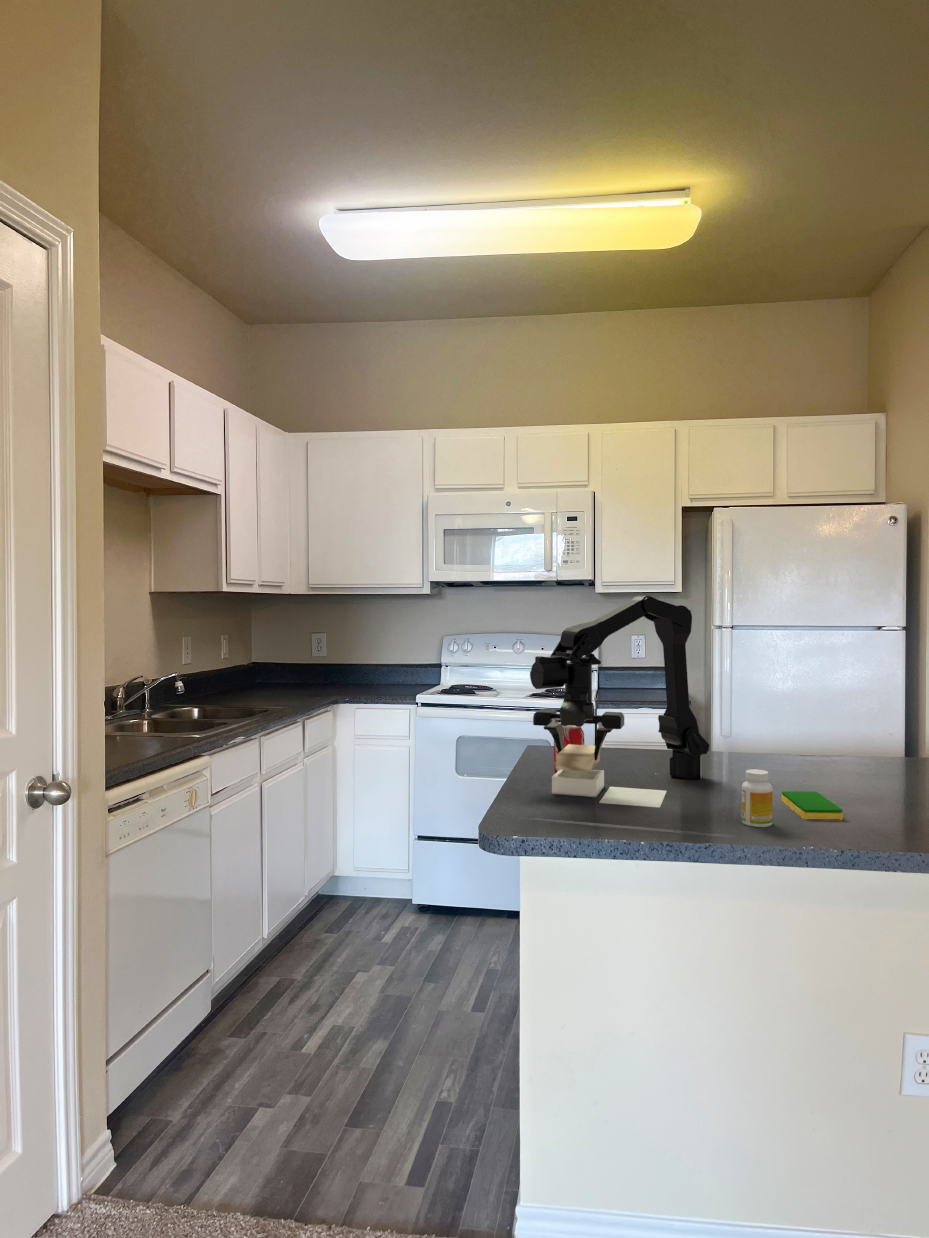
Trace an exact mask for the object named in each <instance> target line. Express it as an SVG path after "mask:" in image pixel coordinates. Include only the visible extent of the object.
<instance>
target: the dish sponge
mask: <svg viewBox="0 0 929 1238" xmlns="http://www.w3.org/2000/svg"><path fill="white" fill-rule="evenodd" d="M782 801H783V802H784V803H785V804H784V803H783V802H782ZM781 802H782V803H783V804H784V805H786V806H787V805H788V806H789V807H790V810H792V811H793V810H794V811H795V812H794V811H793V812H794V813H796V814H797V815H798V814H799V815H800V816H801V817H800V816H799V815H798V816H799V817H800V818H801V819H803V818H804V819H803V820H805V819H840V820H839V821H842V819H844V818H843V817H844V816H843V815H844V814H843V812H844V811H843V808H841V807H839V806H838V805H836V804H835V803H834V802H832V801H831V800H829V799H827V798H826V797H825V796H823V795H822V794H821V793H819V791H805V790H804V791H796V790H793V791H792V790H791V791H790V790H789V791H787V790H785V791H783V790H782V791H781ZM788 806H787V807H788ZM789 807H788V808H789Z"/></svg>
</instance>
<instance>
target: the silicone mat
mask: <svg viewBox="0 0 929 1238" xmlns="http://www.w3.org/2000/svg"><path fill="white" fill-rule="evenodd" d="M666 794H667V790H662V789H649V788H636V787H635V788H634V787H623V786H609V788H608V789H607V791H606V792H605V793H604V795H603V797H602V798H601V799H600V801H599V802H598V803H599V804H607V805H621V806H623V805H624V806H636V807H645V808H646V807H647V808H657V809H658V808H659V809H661V806H662V803H663V801H664V799H665V796H666Z"/></svg>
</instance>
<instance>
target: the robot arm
mask: <svg viewBox="0 0 929 1238" xmlns="http://www.w3.org/2000/svg"><path fill="white" fill-rule="evenodd" d="M641 618H644V619H646V620H648V621H650V622H653V625H654V629H655V633H656V635H657V637H658V638H659V640H660V643H661V644H662V647H663V648H662V649H663V664H664V677H665V678H664V679H665V681H664V682H665V694H666V708H665V711H664V712H663V714H658V715H657V716H658V717H657V720H658V725H659V726H658V727H659V728H658V731H657V732H658V733H660V736H661V739H662V740H663V741H664V743H665V746H666V748H667V750H671V756H670V757H669V776H670V778H671V779H672V780H685V781H686V780H687V781H701V780H702V778H703V774H702V755H706V754H708V752H709V750H710V749H709V748H710V744H709V742H708V741H707V740H706V739H705V738H704V737H703V736H702V734H701V733H700V730H699V726H698V725H699V723H698V720H697V717H696V716H695V713H693V710H692V708H691V707H690V696H689V695H690V694H689V679H688V678H689V677H688V663H687V647H686V646H687V645H686V644H687V642H688V640H689V637H690V636H691V633H692V625H693V615H692V611H691V610H690V609H689V608H688V607H687V606H685V605H682V604H681V605H679V604H672V603H670V602H667V601H663V600H659V599H657V598H656V597H653V596H651V595H635V596H634V597H633V598H632V599H631V600H628V601H627V602H625V603H624V604H622V605H620V606H618V607H616V608H614V609H612V610H610V611H609V612H607V613H605V614H603V615H601V616H600V617H597V618H596V619H594V620H591V621H588V622H583V623H582V622H581V623H579V624H575V625H572V626H569V627H566V628H565V629H563V631H562V632H561V636H560V640H559V642H558V643H557V645H556V647H555V648H554V650H553V651H552V653H551V654H550V656H541V655H539V656H537V655H536V656H535V657H534V659H535V660H534V662H533V664H532V666H531V669H530V671H529V678H530V682H531V686H532V687H533V688H534V689H536V690H543V689H557V688H558V689H560V688H563V687H564V693H563V694H564V695H563V702H562V704H561V706H560V708H559V713H557V709H549V708H548V709H545V708H543V709H542V708H540V709H538V710H537V711H535V712H534V714H533V717H532V721H533V722H532V725H533V726H540V727H542V726H543V729H544V730H546V731H548V732H549V733H550V735H551V736H552V739H553V742H554V741H555V744H556V747H557V749H558V752H560V751H561V750H563V749H564V745H563V728H562V726H567V725H574V726H577V727H579V726H581V727H582V726H584V725H585V724H590V725H591V724H592V725H597V726H598V728H596V730H595V744H594V746H595V752H594V756H595V760H597V759H598V756H599V753H600V754H601V751H602V746H603V744H604V741H605V738H606V737H607V735H608V733H611V732H612V731H613V730H621V729H622V728H623V727H624V726H625V714H624V713H623V712H621V711H605V712H604V713H602V714H601V715H596V714H595V704H594V702H593V666H597V665H601V664H602V662H601V660H600V659H598V658H597V656H596V655H595V654H594V653H593V652H595V651H596V650H597V649H599V648H600V647H601V646H602V644H604V641H605V640H606V639H607V638H608V637H609V636H611V635H613V634H614V633H616V632H618V631H620V630H622V629H623V628H626V627H627V626H629V625H630V624H633V623H634V622H636V621H638V620H640V619H641Z"/></svg>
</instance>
